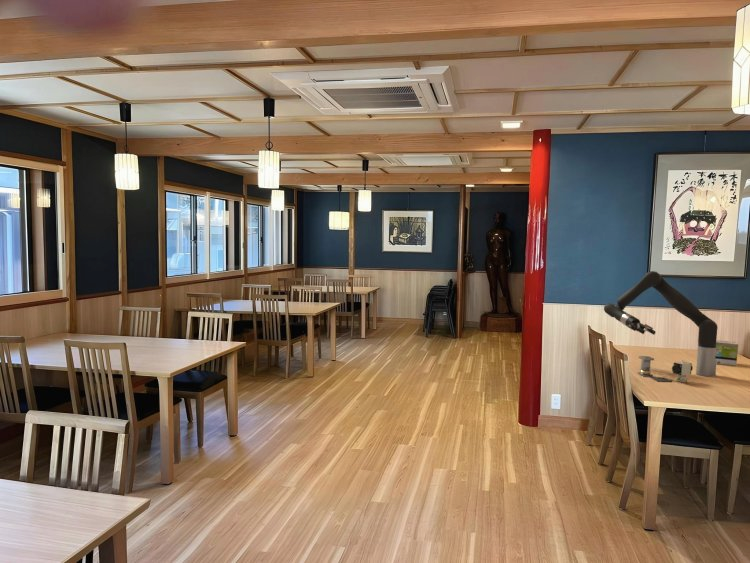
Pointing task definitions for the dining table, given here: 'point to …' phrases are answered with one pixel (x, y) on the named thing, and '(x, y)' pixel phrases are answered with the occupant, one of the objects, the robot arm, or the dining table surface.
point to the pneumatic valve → (682, 370)
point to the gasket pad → (660, 379)
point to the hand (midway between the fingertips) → (649, 332)
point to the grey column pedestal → (645, 366)
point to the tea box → (726, 352)
